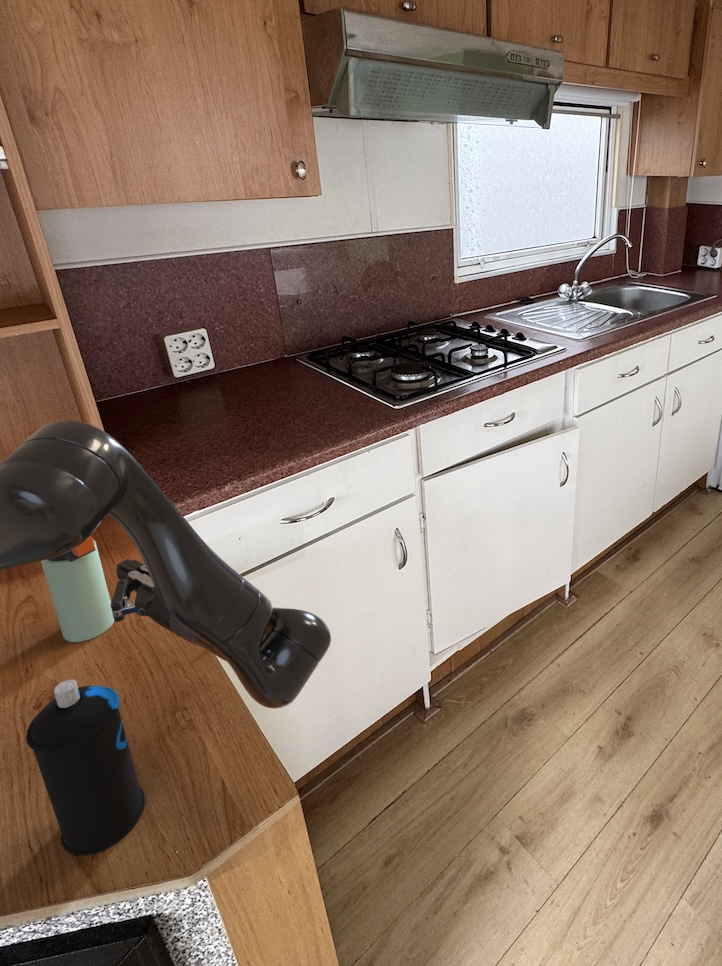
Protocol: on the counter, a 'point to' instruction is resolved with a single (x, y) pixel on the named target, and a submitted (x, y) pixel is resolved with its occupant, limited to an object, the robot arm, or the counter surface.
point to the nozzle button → (84, 547)
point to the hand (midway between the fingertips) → (122, 567)
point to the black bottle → (86, 767)
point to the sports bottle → (79, 594)
